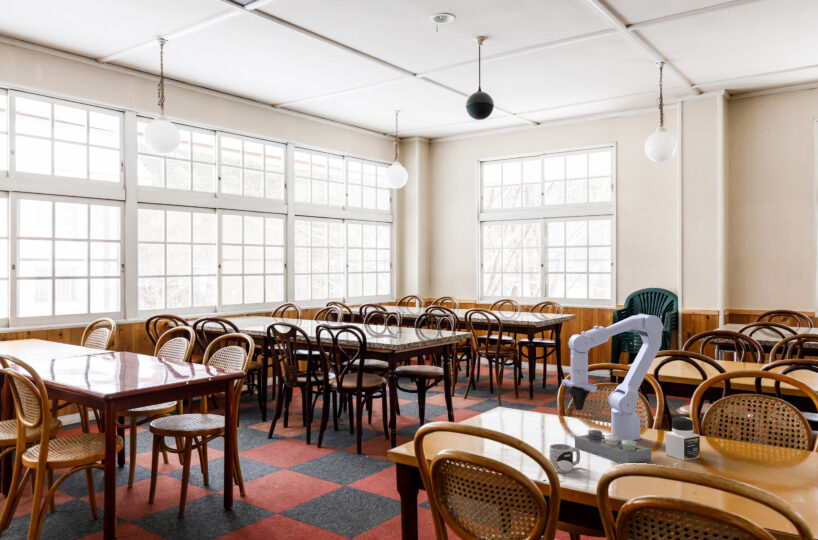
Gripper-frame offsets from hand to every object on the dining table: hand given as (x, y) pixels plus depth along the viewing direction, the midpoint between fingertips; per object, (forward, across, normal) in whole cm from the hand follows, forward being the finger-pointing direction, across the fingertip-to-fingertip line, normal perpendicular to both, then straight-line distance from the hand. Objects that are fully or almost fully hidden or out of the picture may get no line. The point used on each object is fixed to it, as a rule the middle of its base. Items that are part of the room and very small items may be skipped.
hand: (579, 409), depth 216 cm
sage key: (+9, +24, -3) cm, 26 cm away
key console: (+10, +17, -3) cm, 20 cm away
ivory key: (+9, +17, -3) cm, 19 cm away
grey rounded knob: (+9, +10, -3) cm, 14 cm away
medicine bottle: (+10, +30, +14) cm, 35 cm away
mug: (+11, +21, -26) cm, 35 cm away
